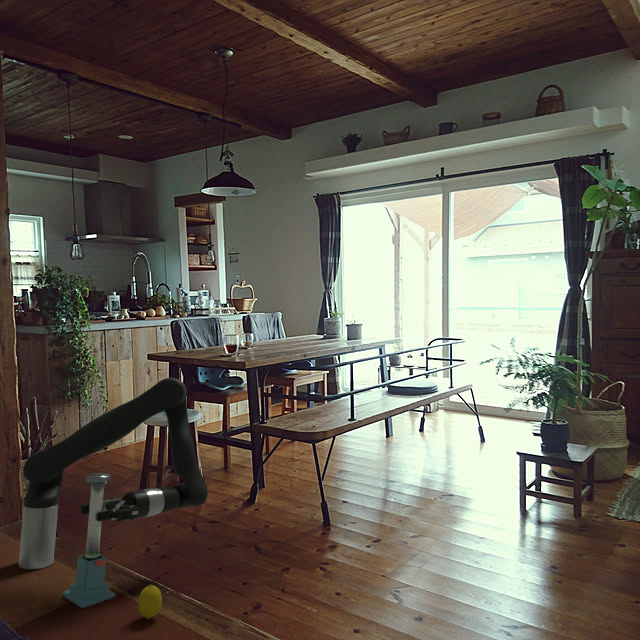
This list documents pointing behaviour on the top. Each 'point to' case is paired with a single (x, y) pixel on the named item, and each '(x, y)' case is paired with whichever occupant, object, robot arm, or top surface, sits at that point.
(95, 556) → the column
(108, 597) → the stand base
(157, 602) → the lemon
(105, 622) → the top surface
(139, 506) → the robot arm
